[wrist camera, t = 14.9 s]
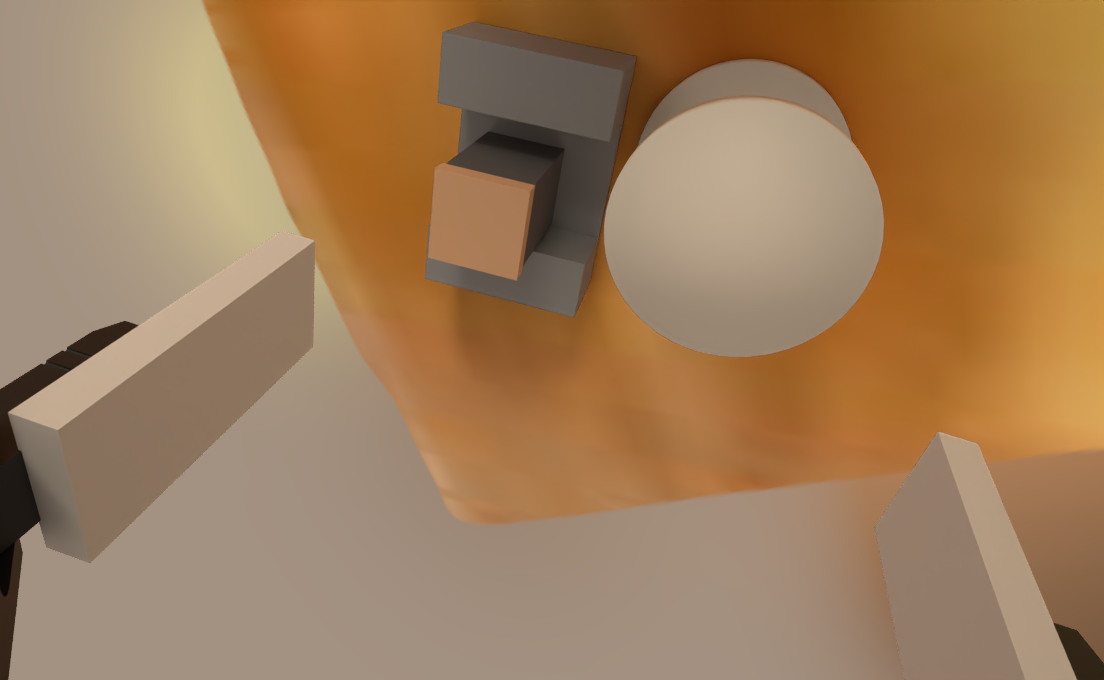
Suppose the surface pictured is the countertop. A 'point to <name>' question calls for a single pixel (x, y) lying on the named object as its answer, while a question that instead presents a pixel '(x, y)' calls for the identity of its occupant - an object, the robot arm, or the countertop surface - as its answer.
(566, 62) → the notch board
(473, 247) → the tan and grey block
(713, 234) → the bobbin
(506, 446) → the countertop surface
